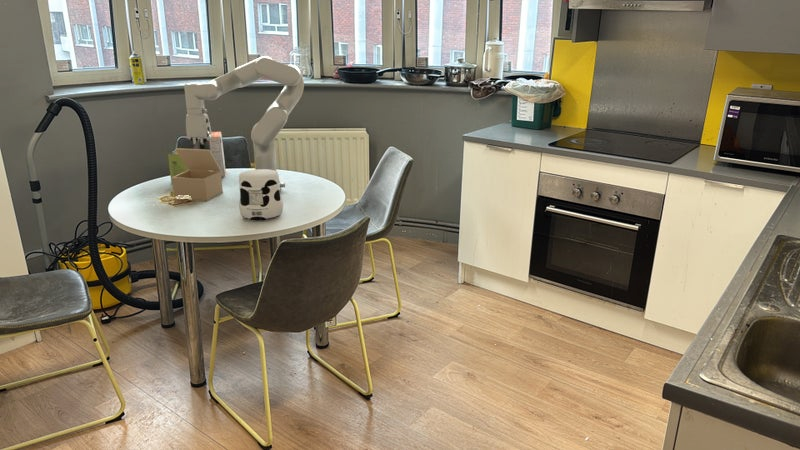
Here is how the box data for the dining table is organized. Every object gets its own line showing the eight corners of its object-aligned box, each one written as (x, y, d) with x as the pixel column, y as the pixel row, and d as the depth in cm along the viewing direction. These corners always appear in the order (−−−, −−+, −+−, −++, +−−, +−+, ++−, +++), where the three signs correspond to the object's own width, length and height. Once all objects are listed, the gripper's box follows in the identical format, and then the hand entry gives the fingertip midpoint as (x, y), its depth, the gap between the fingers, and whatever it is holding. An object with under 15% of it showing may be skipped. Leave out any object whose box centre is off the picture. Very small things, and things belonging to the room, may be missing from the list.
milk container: (271, 207, 257) (268, 166, 251) (291, 218, 244) (288, 174, 238) (233, 216, 247) (228, 173, 241) (251, 227, 234) (247, 181, 228)
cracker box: (213, 171, 317) (209, 131, 310) (225, 170, 318) (221, 131, 311) (212, 178, 304) (208, 136, 297) (225, 177, 305) (221, 136, 298)
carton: (222, 192, 279) (220, 171, 276) (207, 201, 266) (204, 179, 263) (191, 190, 283) (188, 169, 279) (174, 199, 270) (171, 177, 266)
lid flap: (221, 171, 276) (225, 161, 279) (208, 150, 265) (213, 140, 268) (188, 169, 279) (193, 159, 283) (175, 149, 268) (180, 138, 271)
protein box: (203, 185, 291) (199, 153, 286) (171, 185, 292) (167, 153, 286) (210, 180, 301) (206, 149, 296) (179, 180, 301) (175, 149, 296)
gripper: (216, 110, 269) (220, 151, 275) (184, 109, 272) (189, 150, 279) (208, 113, 262) (212, 155, 268) (175, 112, 266) (180, 153, 272)
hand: (200, 152), depth 273 cm, fingers closed
